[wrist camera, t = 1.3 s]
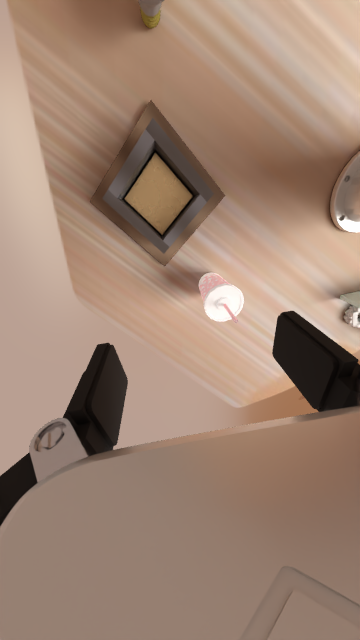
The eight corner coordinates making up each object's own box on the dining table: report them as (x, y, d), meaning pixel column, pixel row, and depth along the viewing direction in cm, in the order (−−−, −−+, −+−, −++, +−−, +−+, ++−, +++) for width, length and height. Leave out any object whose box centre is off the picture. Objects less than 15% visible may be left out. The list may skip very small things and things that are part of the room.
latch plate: (155, 154, 23) (155, 152, 23) (191, 196, 26) (192, 195, 25) (125, 199, 25) (124, 198, 25) (162, 233, 28) (162, 234, 27)
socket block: (151, 103, 23) (148, 67, 17) (223, 195, 29) (240, 192, 23) (91, 201, 28) (73, 199, 22) (164, 264, 33) (165, 277, 27)
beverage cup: (189, 278, 35) (205, 314, 23) (219, 262, 34) (251, 290, 22) (202, 303, 38) (222, 347, 26) (230, 289, 37) (264, 327, 25)
